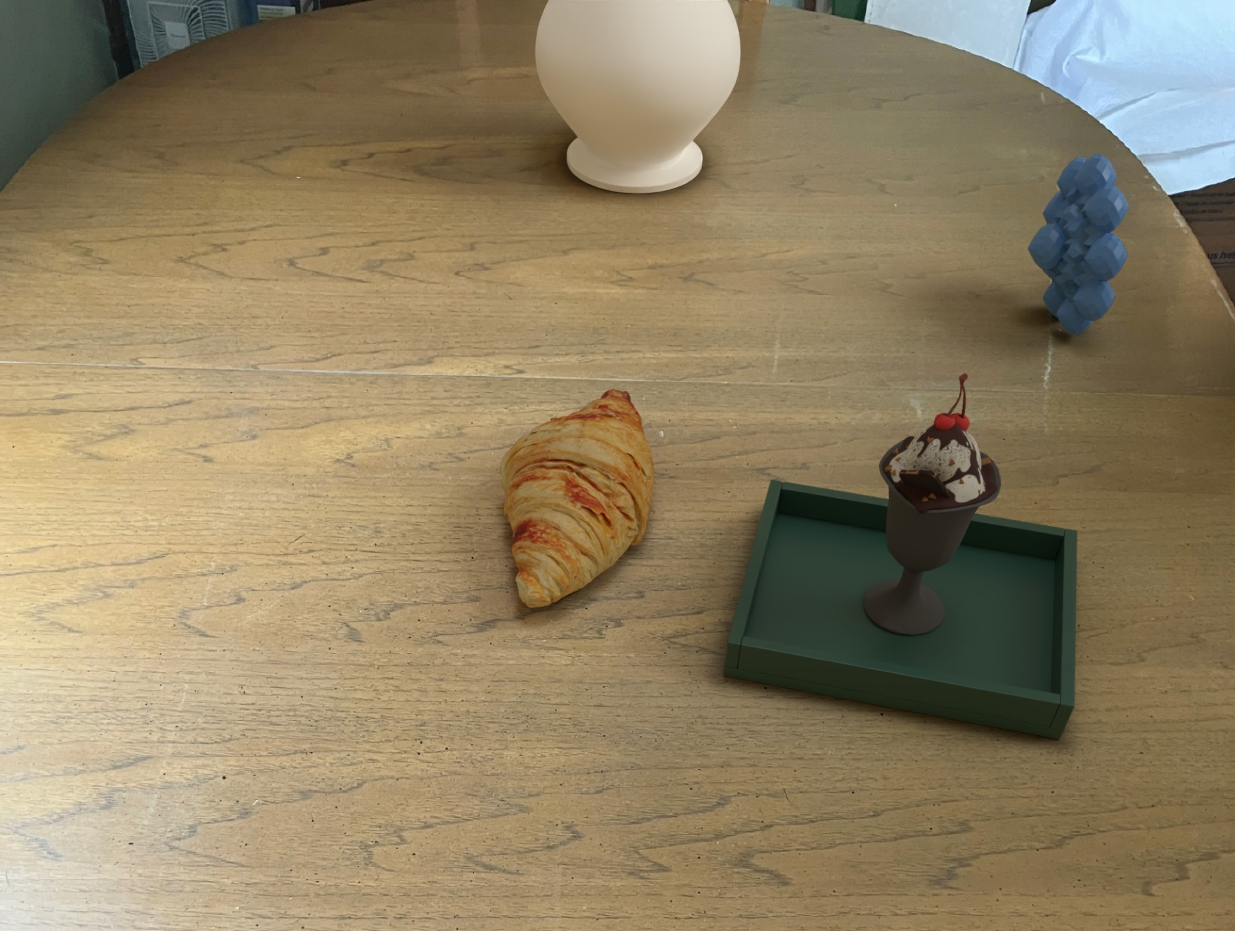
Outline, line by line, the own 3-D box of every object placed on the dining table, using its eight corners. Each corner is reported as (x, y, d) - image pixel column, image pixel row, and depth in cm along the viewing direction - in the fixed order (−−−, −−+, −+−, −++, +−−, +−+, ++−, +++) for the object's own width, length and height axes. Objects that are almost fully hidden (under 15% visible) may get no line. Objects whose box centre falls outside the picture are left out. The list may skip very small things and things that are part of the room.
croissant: (578, 670, 78) (639, 599, 71) (436, 591, 75) (487, 510, 69) (651, 464, 90) (708, 389, 84) (532, 390, 88) (582, 307, 82)
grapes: (983, 281, 102) (1024, 130, 92) (1062, 277, 102) (1109, 127, 93) (1030, 360, 95) (1079, 205, 85) (1114, 355, 95) (1172, 201, 86)
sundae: (925, 561, 78) (985, 349, 67) (977, 632, 74) (1049, 420, 63) (831, 582, 77) (875, 369, 65) (878, 655, 73) (934, 442, 61)
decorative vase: (499, 155, 114) (481, -178, 95) (639, 102, 122) (649, -216, 102) (628, 228, 106) (638, -119, 87) (770, 166, 114) (808, -165, 94)
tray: (1064, 563, 80) (1077, 530, 78) (1059, 739, 70) (1075, 706, 68) (765, 513, 82) (770, 478, 80) (722, 675, 73) (726, 642, 71)
